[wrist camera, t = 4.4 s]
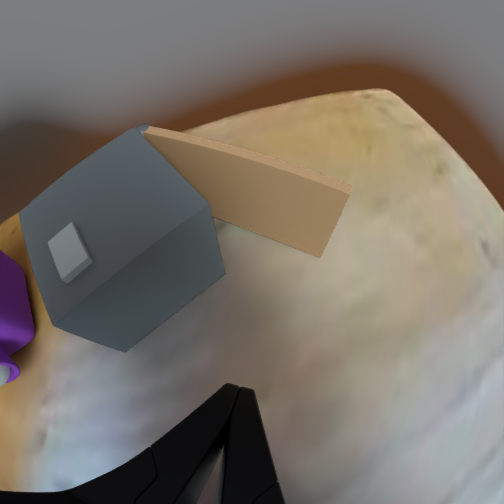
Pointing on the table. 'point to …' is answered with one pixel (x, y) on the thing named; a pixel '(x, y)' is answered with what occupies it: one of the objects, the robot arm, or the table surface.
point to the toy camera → (13, 316)
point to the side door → (256, 188)
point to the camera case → (120, 244)
